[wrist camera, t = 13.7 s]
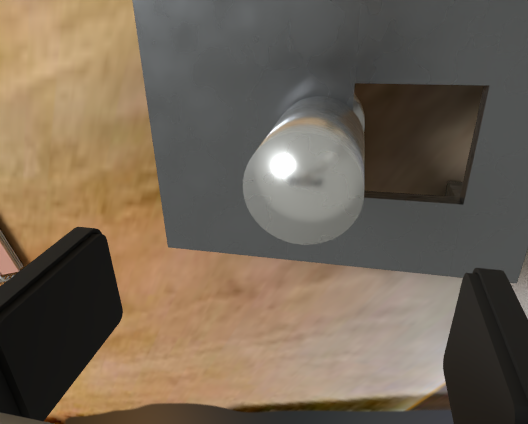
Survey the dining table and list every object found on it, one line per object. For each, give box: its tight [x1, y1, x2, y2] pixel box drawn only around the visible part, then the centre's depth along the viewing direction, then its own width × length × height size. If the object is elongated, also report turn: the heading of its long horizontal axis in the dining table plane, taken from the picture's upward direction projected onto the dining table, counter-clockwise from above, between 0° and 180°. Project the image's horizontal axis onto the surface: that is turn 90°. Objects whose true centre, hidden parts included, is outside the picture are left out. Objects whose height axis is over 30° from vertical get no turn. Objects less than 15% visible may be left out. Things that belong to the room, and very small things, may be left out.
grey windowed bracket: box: [133, 0, 528, 283], centre depth 26 cm, size 22×16×8 cm
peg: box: [243, 94, 365, 245], centre depth 22 cm, size 5×5×12 cm
